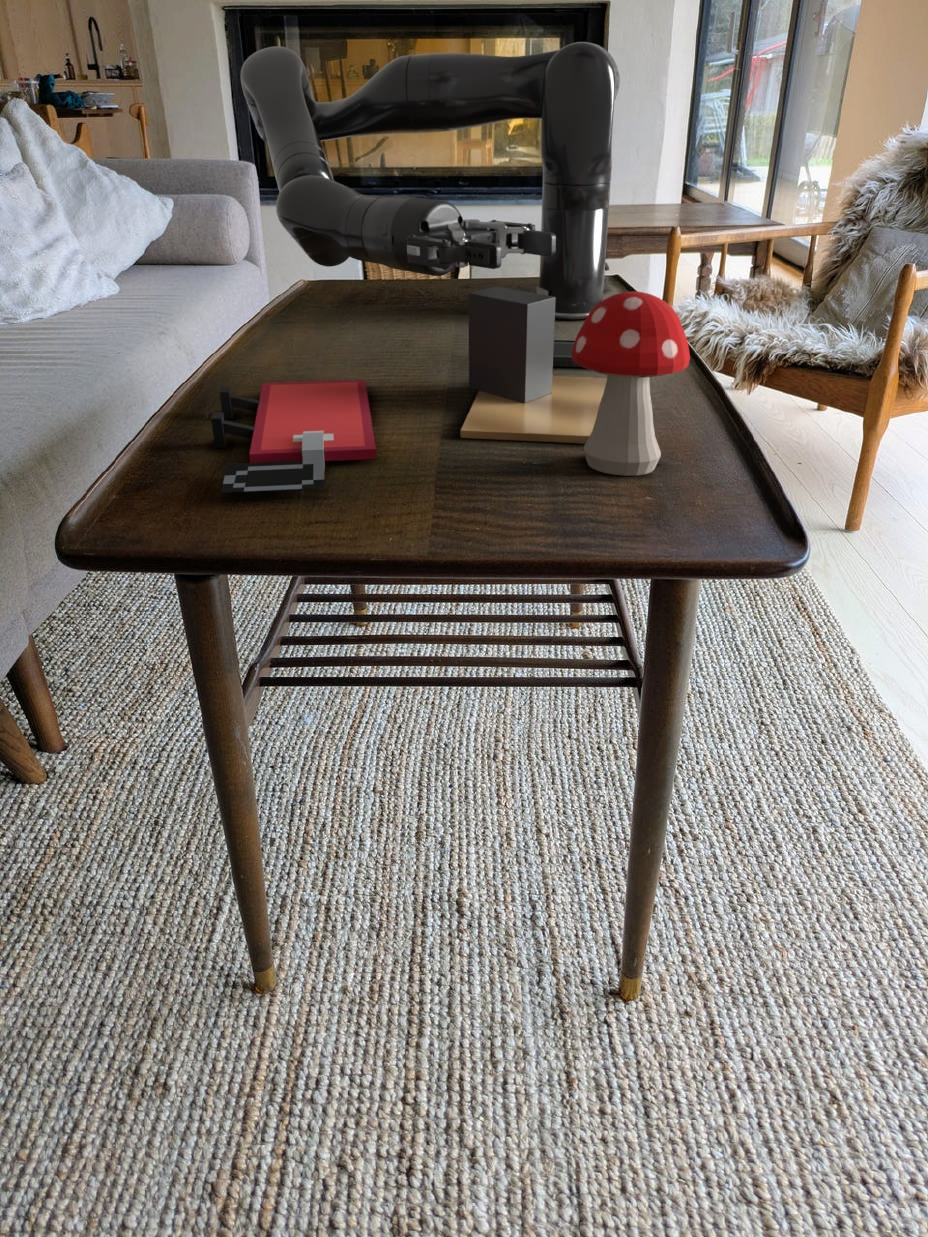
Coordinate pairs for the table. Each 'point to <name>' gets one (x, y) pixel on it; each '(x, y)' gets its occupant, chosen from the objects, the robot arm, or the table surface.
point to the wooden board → (539, 413)
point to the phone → (563, 353)
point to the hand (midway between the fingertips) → (527, 250)
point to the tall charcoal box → (511, 343)
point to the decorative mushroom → (628, 376)
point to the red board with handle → (296, 433)
